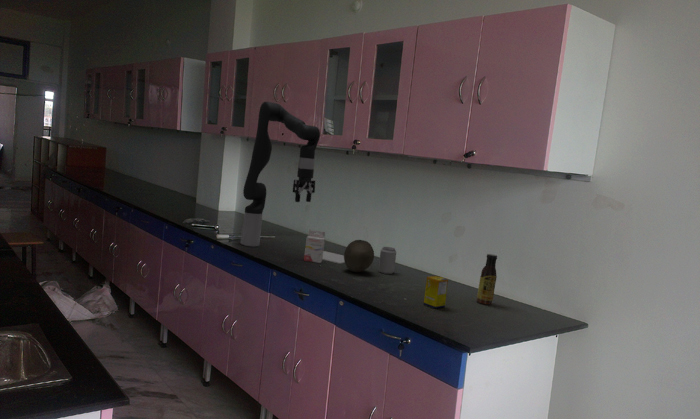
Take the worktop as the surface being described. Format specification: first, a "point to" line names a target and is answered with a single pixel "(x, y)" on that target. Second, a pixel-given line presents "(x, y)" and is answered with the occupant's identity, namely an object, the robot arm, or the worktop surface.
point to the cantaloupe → (358, 255)
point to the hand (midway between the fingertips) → (302, 201)
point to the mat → (333, 257)
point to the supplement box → (435, 291)
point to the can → (387, 260)
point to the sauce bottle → (487, 281)
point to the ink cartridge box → (314, 246)
